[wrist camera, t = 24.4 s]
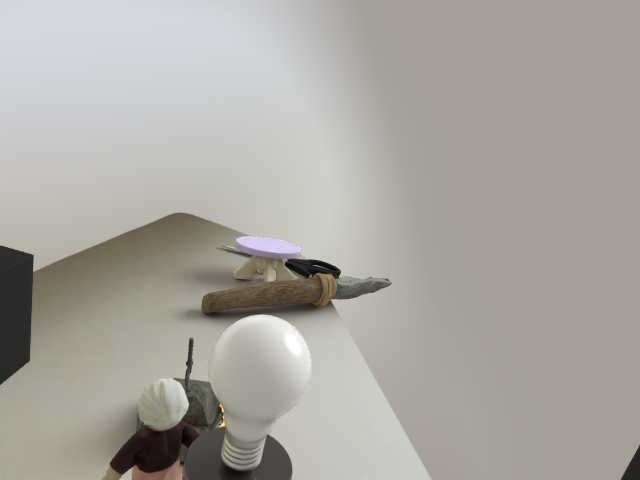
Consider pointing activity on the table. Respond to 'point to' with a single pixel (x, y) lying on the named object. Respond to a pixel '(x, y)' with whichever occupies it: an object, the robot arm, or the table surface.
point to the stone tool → (292, 292)
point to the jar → (215, 476)
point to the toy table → (266, 257)
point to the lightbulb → (256, 382)
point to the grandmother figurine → (156, 435)
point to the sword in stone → (196, 404)
